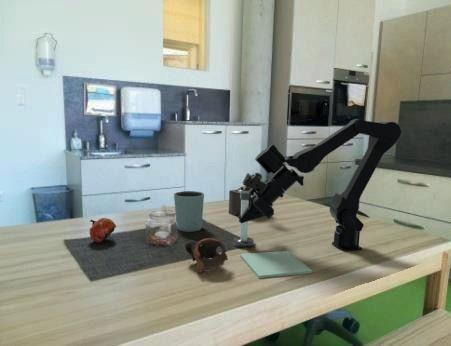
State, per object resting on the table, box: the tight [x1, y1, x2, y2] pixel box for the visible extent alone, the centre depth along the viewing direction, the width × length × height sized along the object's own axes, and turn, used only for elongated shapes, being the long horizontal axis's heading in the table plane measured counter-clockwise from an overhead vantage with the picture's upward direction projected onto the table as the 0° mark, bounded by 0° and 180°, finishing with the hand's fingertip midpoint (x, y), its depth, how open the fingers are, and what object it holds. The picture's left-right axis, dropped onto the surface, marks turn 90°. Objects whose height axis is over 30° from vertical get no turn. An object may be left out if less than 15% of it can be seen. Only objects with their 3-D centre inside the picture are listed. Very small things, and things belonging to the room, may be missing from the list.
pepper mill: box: [228, 172, 263, 217], centre depth 141 cm, size 16×11×18 cm
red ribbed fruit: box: [89, 217, 117, 244], centre depth 106 cm, size 7×7×10 cm
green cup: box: [173, 190, 205, 233], centre depth 121 cm, size 10×10×12 cm
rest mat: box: [239, 250, 313, 279], centre depth 92 cm, size 14×14×1 cm
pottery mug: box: [184, 237, 229, 274], centre depth 89 cm, size 12×10×8 cm
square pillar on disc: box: [232, 191, 255, 249], centre depth 106 cm, size 6×6×16 cm
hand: (239, 220), depth 106 cm, fingers closed on square pillar on disc, 3 cm apart
